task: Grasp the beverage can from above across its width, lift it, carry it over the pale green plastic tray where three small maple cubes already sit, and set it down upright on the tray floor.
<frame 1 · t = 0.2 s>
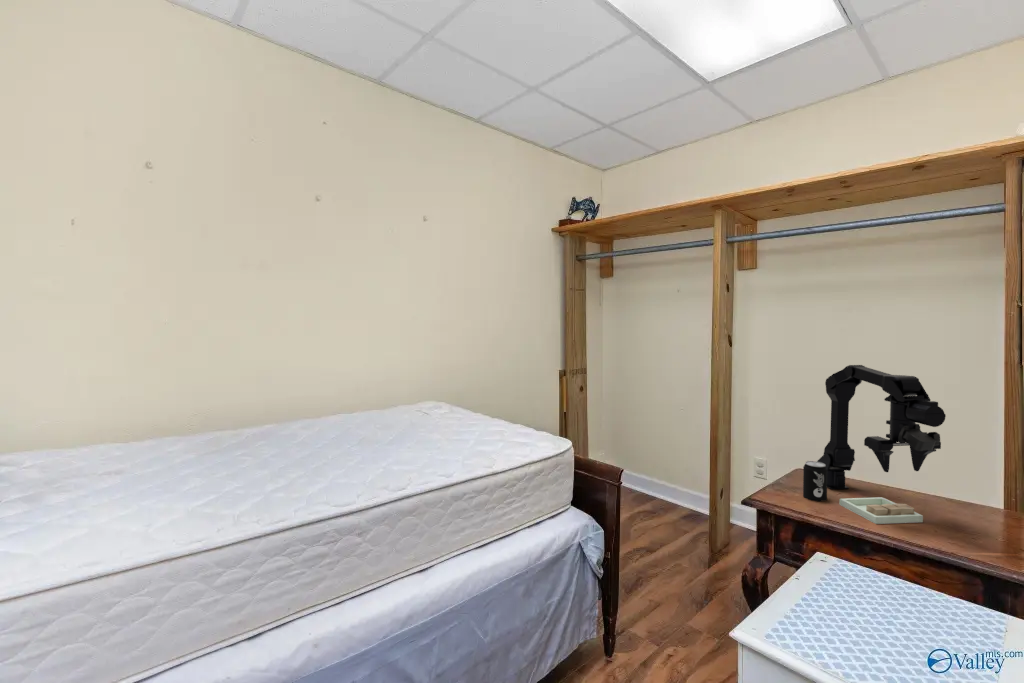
hand: (901, 471, 136), 14 cm above the table, fingers open, 9 cm apart
maple cube B: (889, 518, 136), point 1 cm above the table, touching tray
tray: (879, 514, 140), on the table
beverage can: (814, 500, 153), on the table
maple cube C: (902, 517, 137), point 1 cm above the table, touching tray
maple cube A: (876, 518, 136), point 1 cm above the table, touching tray
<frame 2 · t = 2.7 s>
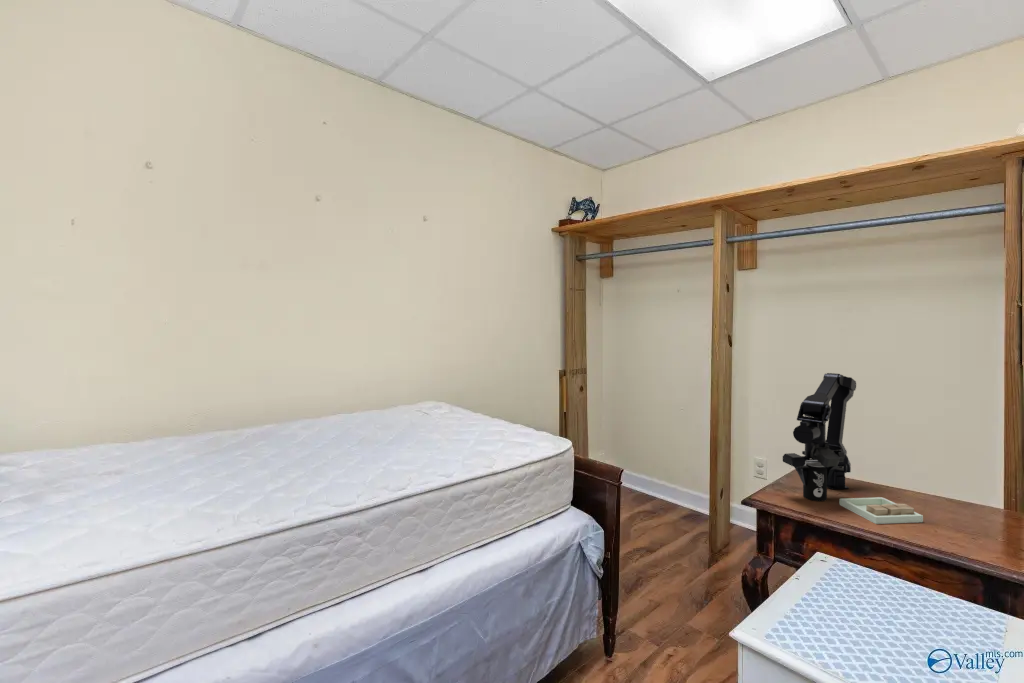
hand: (815, 484, 153), 5 cm above the table, fingers open, 7 cm apart
beverage can: (814, 499, 153), on the table, touching gripper
everything else where it was.
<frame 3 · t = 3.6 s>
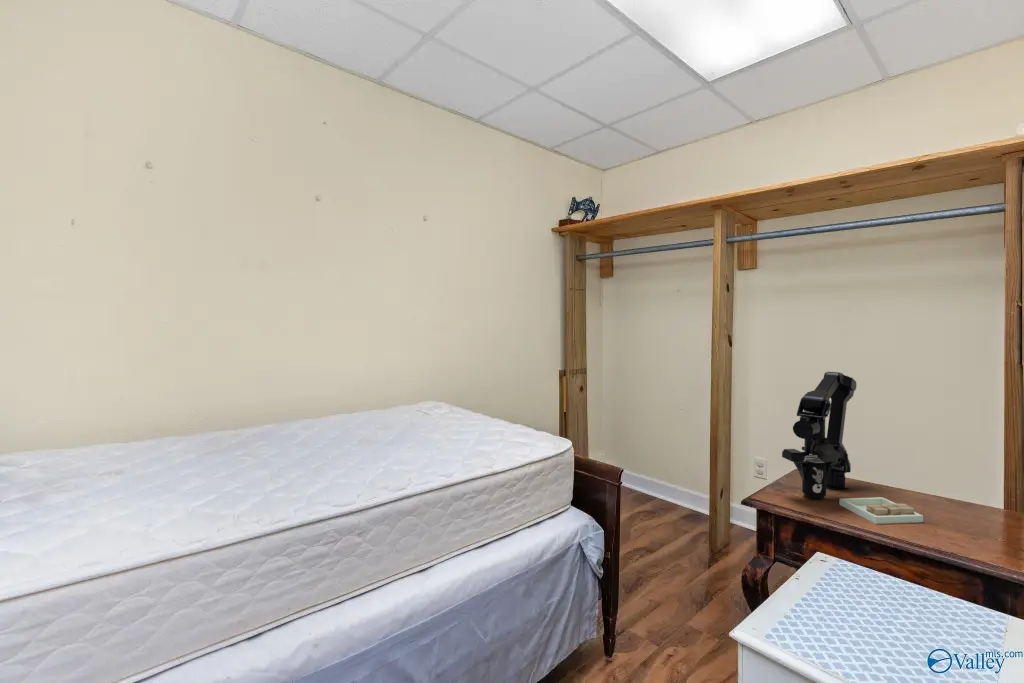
hand: (814, 480, 152), 6 cm above the table, fingers closed on beverage can, 7 cm apart
beverage can: (813, 495, 153), point 1 cm above the table, touching gripper
everything else where it was.
when the fingers open (7 cm above the table, at t = 6.9 s): beverage can drops 1 cm, resting on tray.
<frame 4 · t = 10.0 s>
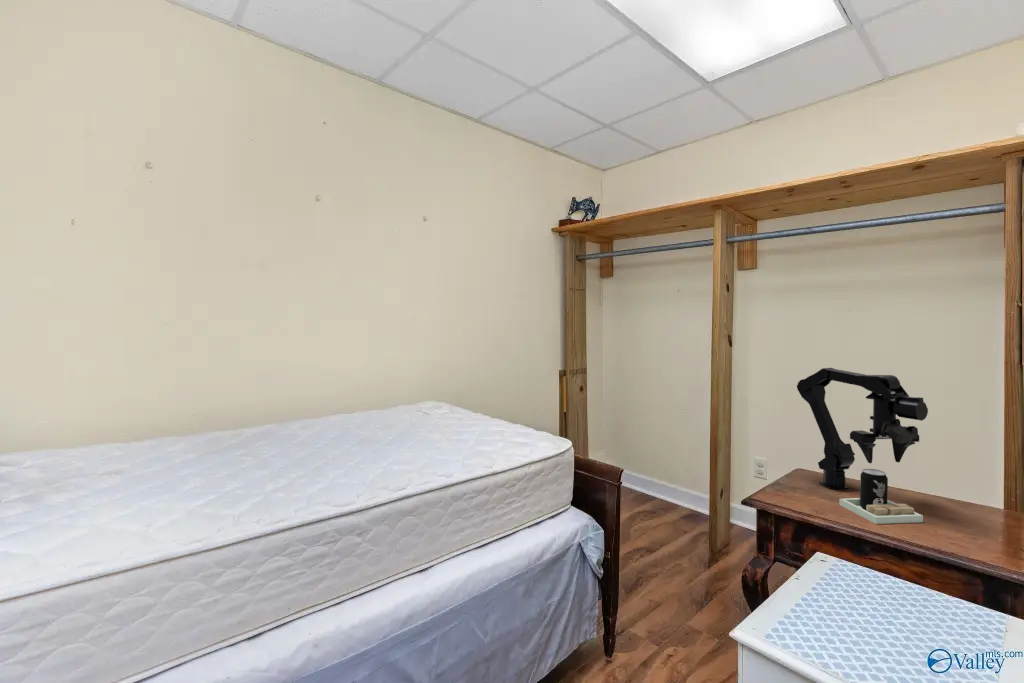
hand: (883, 462, 149), 13 cm above the table, fingers open, 9 cm apart
beverage can: (873, 510, 142), resting on tray
everything else where it was.
at the end: beverage can inside the target area on the tray (2.2 cm from its centre), point 0.4 cm above the tray's base; beverage can tilted 0°; beverage can touching tray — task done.
